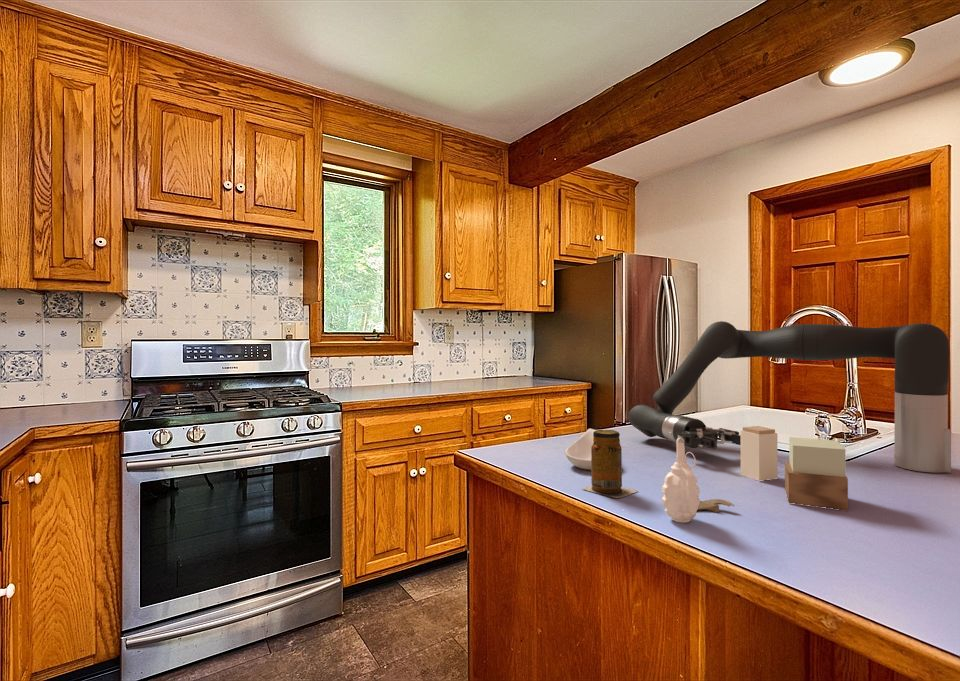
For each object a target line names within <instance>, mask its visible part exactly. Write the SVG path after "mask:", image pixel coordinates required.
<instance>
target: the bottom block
mask: <svg viewBox="0 0 960 681" xmlns="http://www.w3.org/2000/svg"><path fill="white" fill-rule="evenodd" d="M784 491H786V492H785V495H786V494H787V496H786V499H787V498H788V500H787V503H788V502H789V503H795V504H803V505H810V506H818V507H826V508H833V509H839V510H838V511H841V510H847V511H846V512H848V511H849V478H848V476H846V474H845V477H837V476H827V475H817V474H807V473H797V472H793V471H792V468H791V465H790V462H789V461H786V460H785V461H784ZM833 509H832V510H833Z"/></svg>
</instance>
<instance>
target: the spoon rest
mask: <svg viewBox="0 0 960 681" xmlns="http://www.w3.org/2000/svg"><path fill="white" fill-rule="evenodd" d="M596 430H597V429H593V428H588V429H587V430H586V431H585V432H584V433H583V434H582V435H581V436H580V437H578V439H576V440H575V441H574V442H573V443H572V444H570V445H569V446H568V447H567V448H566V449H565V451H564V452H565V453H564V454H565V456H566V458H567V460H568V461H569V462H570V463H571V464H572V465H573V466H575V467H576V468H579V469H580V470H581V469H582V470H588V471H591V446H592V444H593V443H594V441H593V433H594V431H596ZM598 430H603V429H601V428H600V429H598Z"/></svg>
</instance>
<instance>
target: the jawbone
mask: <svg viewBox="0 0 960 681" xmlns="http://www.w3.org/2000/svg"><path fill="white" fill-rule="evenodd" d="M720 505H723V506H726V507H731V506H732V507H735V505H734V504H733V503H732V502H730V501H728V500H725V499H720V498H718V499H717V498H714V499H707V500H700V503H699V506H698V510H697V511H701V510H707V511H711V512H713V513H717V514H718V513H719V512H720Z"/></svg>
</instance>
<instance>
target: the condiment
mask: <svg viewBox="0 0 960 681" xmlns="http://www.w3.org/2000/svg"><path fill="white" fill-rule="evenodd" d="M595 430H596V431H594V433H593V441H594V443H593V444H592V446H591V470H590V471H591V473H590V474H591V475H590V476H591V479H590V480H591V485H589V486H586V487H582V490H585V491H588V492H591V493H595V494H599V495H603V496H605V497H609V498H614V499H620V498H623V497H627V496H630V495H632V494H635V493H637V492H638V490H635V489H631V488H629V487H628V488H627V487H624V486H623V477H622V476H623V471H622V470H623V468H622V467H623V466H622V465H623V464H622V460H623V459H622V457H623V456H622V450H623V449H622V448H623V447H622V445H621V440H620V436H621V435H620V432H619V431H617V430H613V429H602V430H599V429H595Z"/></svg>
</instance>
